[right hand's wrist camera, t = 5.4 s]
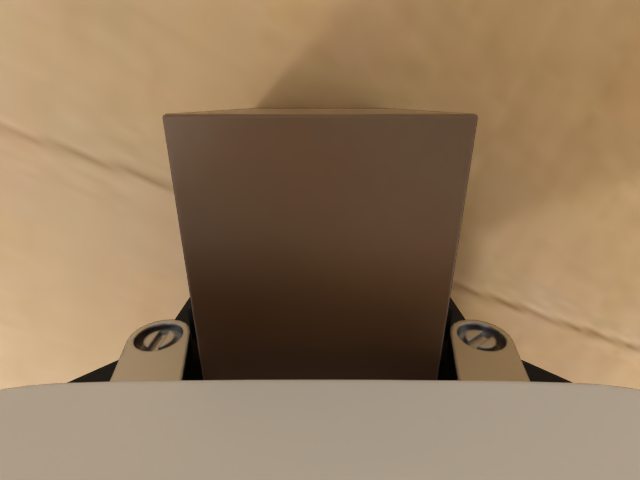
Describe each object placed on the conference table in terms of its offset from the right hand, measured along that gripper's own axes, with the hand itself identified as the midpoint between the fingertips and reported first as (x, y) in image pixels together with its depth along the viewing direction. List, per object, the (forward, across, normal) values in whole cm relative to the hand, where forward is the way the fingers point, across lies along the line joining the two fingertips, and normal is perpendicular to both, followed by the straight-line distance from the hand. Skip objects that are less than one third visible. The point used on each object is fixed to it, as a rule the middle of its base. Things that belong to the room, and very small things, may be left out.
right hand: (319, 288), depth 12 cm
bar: (+2, 0, +25) cm, 25 cm away
